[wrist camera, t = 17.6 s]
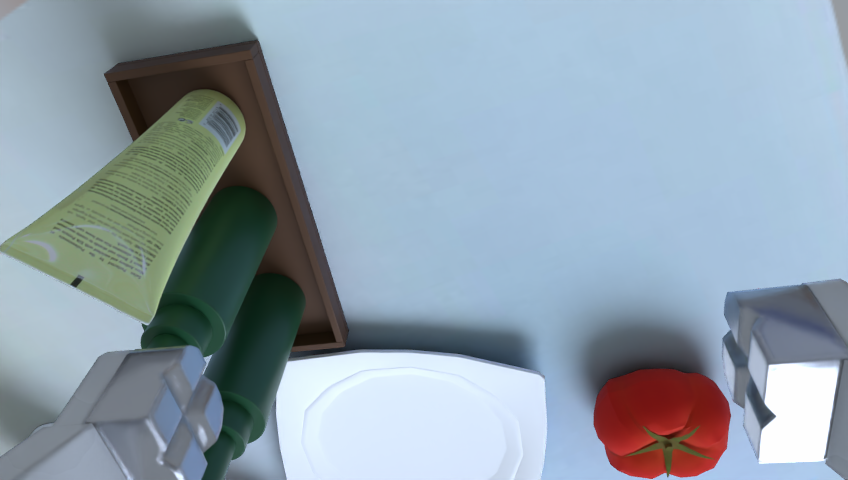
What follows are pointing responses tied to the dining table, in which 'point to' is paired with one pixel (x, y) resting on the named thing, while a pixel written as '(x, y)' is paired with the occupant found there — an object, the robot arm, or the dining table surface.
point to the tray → (246, 164)
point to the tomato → (662, 423)
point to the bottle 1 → (213, 272)
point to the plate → (410, 417)
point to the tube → (136, 208)
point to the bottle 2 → (252, 365)
